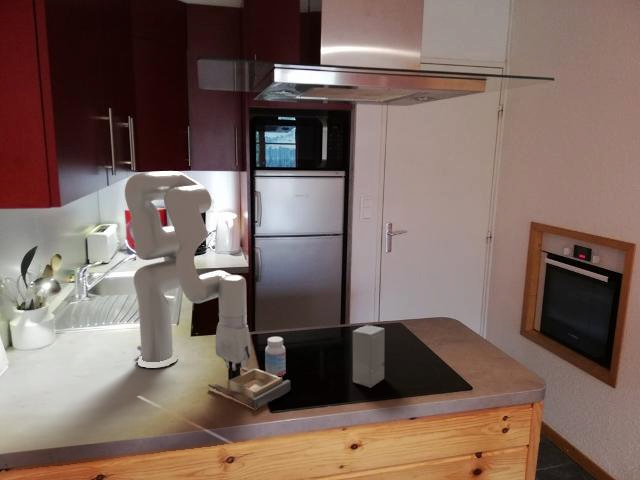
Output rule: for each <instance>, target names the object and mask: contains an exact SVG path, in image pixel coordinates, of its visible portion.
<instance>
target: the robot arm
mask: <svg viewBox="0 0 640 480" xmlns="http://www.w3.org/2000/svg"><path fill="white" fill-rule="evenodd" d="M124 198H125V202H126V205H127V206H126V207H127V209H128V212H129V215H130V220H131V221H130V222H131V231H132V238H133V244H134V249H135V254H136V256H137V258H139V259H140V260H143V261H151V260H156V259H161V258H163V261H158V262H153V263H149V264H146V265H143V266H142V267H139V268H138V269H137V270H136V271H135V272H134V275H133V286H134V289H135V293H136V297H137V304H138V316H139V331H140V334H139V335H140V345H138V346H137V347H136V349H137V350H138V351H140V356H142V360H143V361H146V362H160V361H164V360H167V359H169V358H171V357H172V355H173V352H174V351H173V349H174V347H173V325H172V324H173V323H172V307H171V304H170V302H169V300H168V299H167V297H166V296H165V293H166V292H170V291H173V290H176V289H180V288H181V290H182V291H183V294H184V295H185V297H186V298H187V300H188V301H190V302H191V303H194V304H202V303H204V302H208V301H210V300H213V299H216V298H218V318H219V322H218V323H217V325H216V333H215V355H216V356H217V357H218V358H221V359H222V360H224V362H225V366H226V369H227V373H228V374H227V375H228V376H227V377H228V380H231V379H233V378H235V377H237V376H239V375H241V369H242V368H243V367H247V366H249V365H250V362H249V359H250V358H251V354H252V353H251V352H252V351H251V348H252V347H251V346H252V345H251V338H250V331H249V325H248V324H247V323H248V321H247V317H248V316H247V312H248V311H247V281H246V278H245V277H244V276H242V275H239V274H231V273H228V272H227V271H224V270H220V269H217V270H213V271H209V272H204V273H201V274H199V273H198V271H197V269H196V264H195V254H196V252H197V249H198V248H199V246H200V245H201V244H202V243H203V242H205V241H206V240H207V238H208V236H209V232H208V229H207V226H206V224H205V222H204V219H203V216H202V214H203V213H207V212H208V211H209V210H210V208H211V207H212V197H211V194H210V192H209V191H208V190H207V188H206V187H205V186H204V185H202V184H201V183H200V182H197V181H196V180H194V179H192V178H191V177H189V176H187V175H186V174H184V173H182V172H180V171H174V170H167V171H166V170H164V171H163V170H162V171H144V172H139V173H136V174H133V175H131V177H129V178H128V180H127V181H126V183H125V186H124ZM162 200H163V203H164V206H165V209H166V211H167V214H168V217H169V219H170V222H171V225H166V226H162V223H161V222H162V221H161V214H160V212H159V209H158V208H157V206H156V205H155V204H154V203H153V201H162ZM228 380H227V381H228Z"/></svg>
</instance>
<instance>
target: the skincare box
mask: <svg viewBox="0 0 640 480" xmlns="http://www.w3.org/2000/svg"><path fill="white" fill-rule="evenodd" d="M385 332H386V331H385V327H378V326H374V325H370V324H366V325H364V326H360V327H358V328H356V329H354V330H352V382H353V383H355V384H358V385H361V386H364V387H367V388H369V389H371V388H372V387H374V386H376V385H377V384H379V383H380V382H382V381H383V380H384V379H385V335H386V334H385Z"/></svg>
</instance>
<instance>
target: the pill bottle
mask: <svg viewBox="0 0 640 480" xmlns="http://www.w3.org/2000/svg"><path fill="white" fill-rule="evenodd" d="M264 351H265V352H264V356H265V357H264V358H265V361H264V363H265V364H264V367H265V371H264V372H267V373H270V374H272V375H275V376H281V377H283V376H285V375H286V372H287V371H286V370H287V369H286V364H287V363H286V361H287V360H286V347H285V346H284V338H282V337H281V336H271V337H268V338H267V346H266V347H265V349H264ZM284 374H285V375H284ZM282 375H283V376H282Z"/></svg>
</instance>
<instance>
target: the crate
mask: <svg viewBox="0 0 640 480" xmlns="http://www.w3.org/2000/svg"><path fill="white" fill-rule="evenodd" d="M253 380H258V381H260V382H258V383H257V382H256V383H254V384H253V386H251V387H250V388H248V387H246V386H243V385H245V384H247V383H249V382H251V381H253ZM282 381H283V377H282V376H281V377H278V376H275V375H272V374H270V373H267V372H265V371H264V370H261V369H258V368H256V367H254V368H251V370H250V371H247V372H245V373H243V374H242V373H240V375H239V376H237V377H235V378H233V379H231V380H227V389H229V390H231V391H233V392H236V393H238V394H241V395H243V396H245V397H248V398H250V399H252V398H254V397H256V396H258V395H259V394H261V393H263V392H265V391H267V390H269V389H271V388H272V387H274V386H276V385H278V384H280V383H282Z"/></svg>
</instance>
